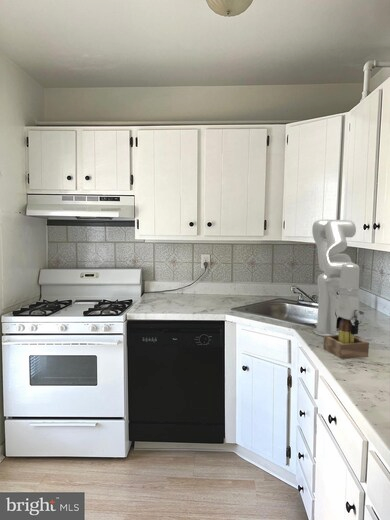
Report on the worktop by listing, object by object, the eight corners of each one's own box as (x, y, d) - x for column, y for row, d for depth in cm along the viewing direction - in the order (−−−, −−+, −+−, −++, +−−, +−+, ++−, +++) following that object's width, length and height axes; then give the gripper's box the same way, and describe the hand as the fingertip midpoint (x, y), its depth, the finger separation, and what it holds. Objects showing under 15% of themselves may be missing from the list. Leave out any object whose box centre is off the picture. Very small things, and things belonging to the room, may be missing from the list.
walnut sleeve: (323, 348, 167) (324, 335, 167) (348, 346, 171) (349, 334, 170) (341, 359, 155) (342, 345, 154) (368, 356, 158) (369, 343, 158)
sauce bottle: (349, 350, 166) (351, 306, 164) (355, 355, 160) (358, 310, 158) (335, 350, 166) (337, 306, 164) (340, 355, 160) (343, 310, 158)
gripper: (329, 289, 167) (327, 326, 169) (354, 296, 151) (352, 337, 152) (343, 288, 169) (341, 325, 171) (370, 295, 153) (367, 336, 154)
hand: (346, 331), depth 162 cm, fingers open, 9 cm apart
